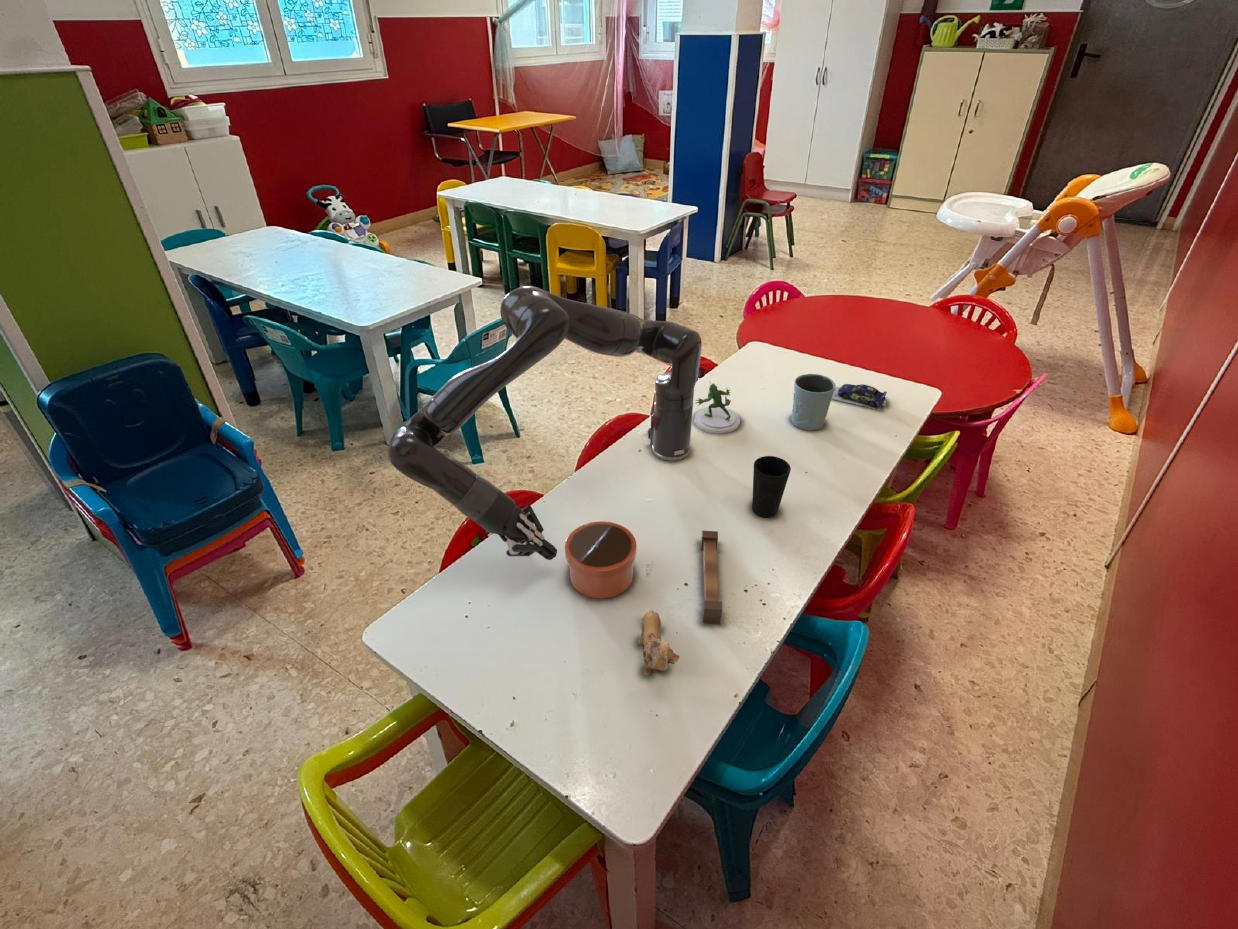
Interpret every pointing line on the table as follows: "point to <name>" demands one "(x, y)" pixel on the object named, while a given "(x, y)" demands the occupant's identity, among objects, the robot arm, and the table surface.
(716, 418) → the monster figurine
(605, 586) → the terracotta pot
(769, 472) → the cup
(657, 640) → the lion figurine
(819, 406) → the grey planter pot
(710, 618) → the oak rail
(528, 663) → the table surface
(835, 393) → the race car
